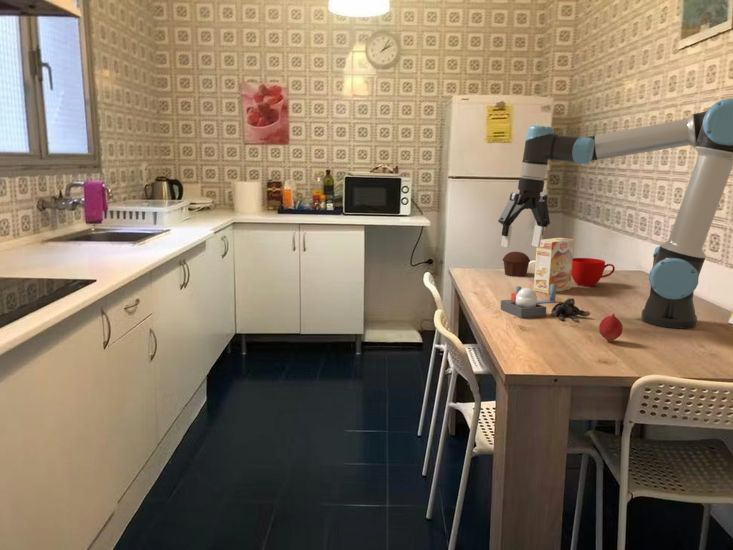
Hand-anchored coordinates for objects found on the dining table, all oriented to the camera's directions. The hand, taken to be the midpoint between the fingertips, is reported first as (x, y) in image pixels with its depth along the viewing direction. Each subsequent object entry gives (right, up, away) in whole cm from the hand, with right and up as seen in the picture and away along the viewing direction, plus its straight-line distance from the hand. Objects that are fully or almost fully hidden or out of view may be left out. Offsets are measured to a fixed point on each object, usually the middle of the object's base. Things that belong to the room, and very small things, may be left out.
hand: (520, 246), depth 183 cm
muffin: (+17, -9, +71) cm, 74 cm away
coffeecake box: (+23, -15, +41) cm, 49 cm away
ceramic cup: (+41, -13, +51) cm, 67 cm away
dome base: (+2, -21, +5) cm, 22 cm away
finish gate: (+10, -19, +19) cm, 28 cm away
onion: (+17, -27, -25) cm, 41 cm away
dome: (+2, -19, +3) cm, 20 cm away
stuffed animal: (+16, -23, +1) cm, 28 cm away
